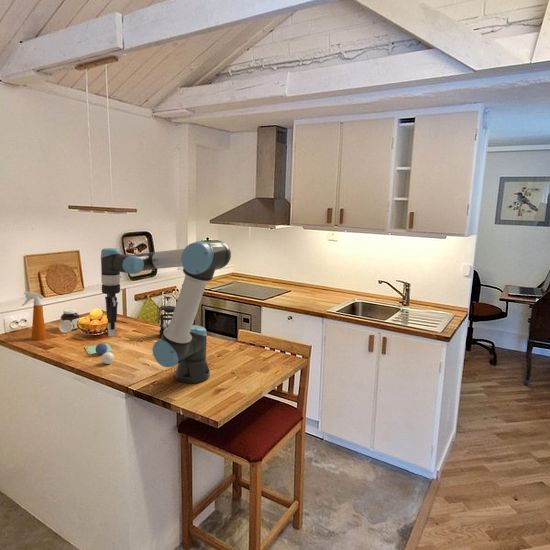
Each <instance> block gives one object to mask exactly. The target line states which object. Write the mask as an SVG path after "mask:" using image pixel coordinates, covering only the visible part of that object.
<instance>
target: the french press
mask: <svg viewBox="0 0 550 550" xmlns="http://www.w3.org/2000/svg"><path fill="white" fill-rule="evenodd" d="M163 299H166V302H167V303H166V305H162V306H159V311H160V312H162V311H164V312H165V313H163V314H159V320H160V325H159V326H160V329H159V331H158V333H159V334H158V337H159V336H160V337H162V335H163V332H164V330H165V329H166V328H168V327H169V326H170V322H169V321H171V319H172V316H173V313H174V310H175V307H176V306H174V305H169V299H172V297H171V296H165V297H163ZM164 321H166V322H165V323H164ZM160 337H159V338H160Z"/></svg>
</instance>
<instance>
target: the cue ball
mask: <svg viewBox="0 0 550 550" xmlns="http://www.w3.org/2000/svg"><path fill="white" fill-rule="evenodd" d="M114 360H115V355H114V354H113V353H112V351H110V352H106V353H104V354H101V361H102V363H103V364H105V365H109V364H112V363H113V362H114Z"/></svg>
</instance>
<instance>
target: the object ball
mask: <svg viewBox="0 0 550 550" xmlns="http://www.w3.org/2000/svg"><path fill="white" fill-rule="evenodd" d="M106 344H107V343H102V342H101V343H98V344H97V346H96V352H97V354H98V355H103V354H104V353H106V352H107V345H106Z"/></svg>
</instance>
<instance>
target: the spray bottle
mask: <svg viewBox="0 0 550 550" xmlns="http://www.w3.org/2000/svg"><path fill="white" fill-rule="evenodd" d="M24 295H26V300H25V301H24V303H22V305H21V307H24V306H25V305H26V304H28V303H29V302H30V301H31V300H33V308H32V325H31V340H32V341H44V340H45V339H47V332H46V324H45V319H44V318H45V317H44V313H43V307H42V306H43V305H42V299H44V295H42V294H40V293H37V292H34V291H25V292H24Z"/></svg>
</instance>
